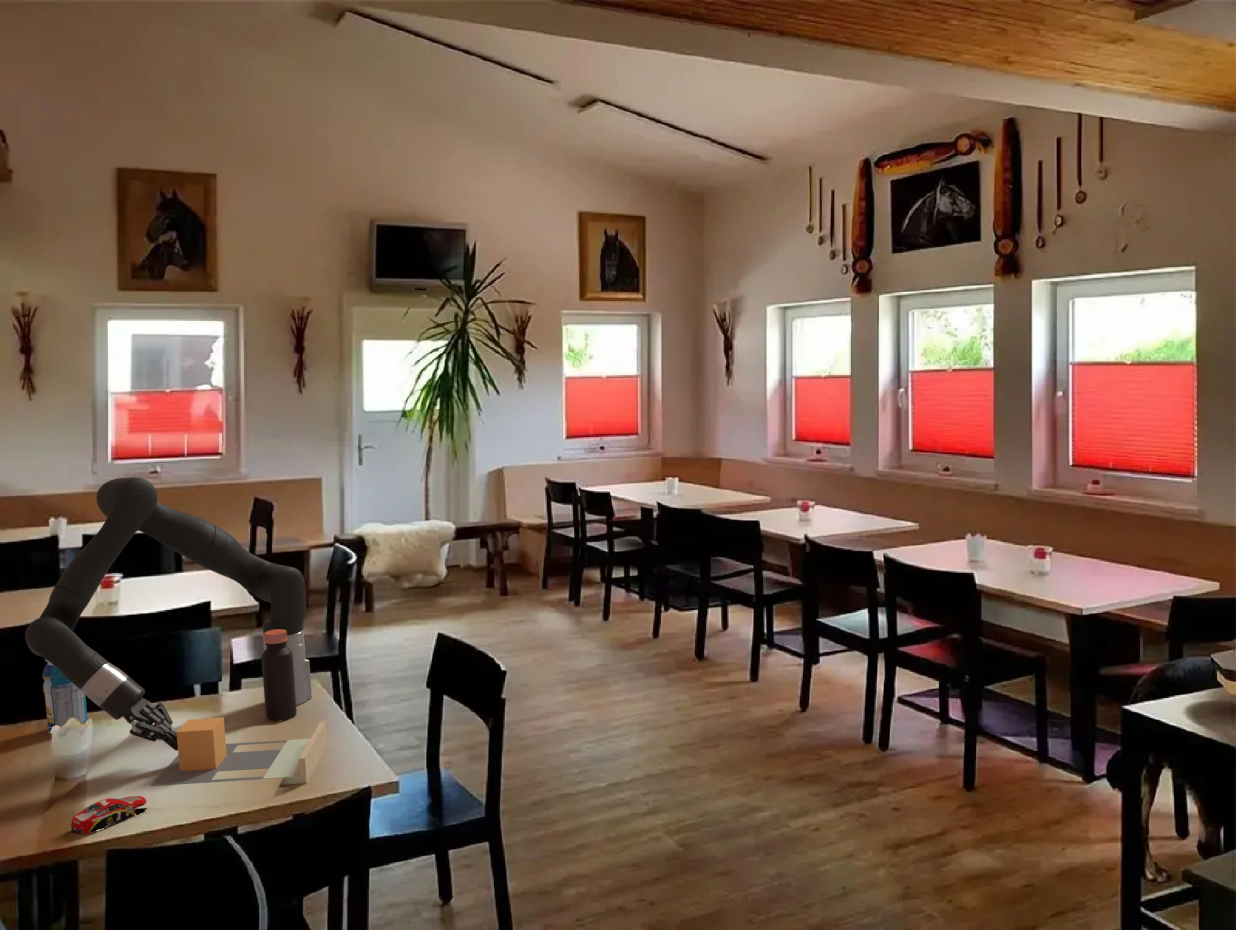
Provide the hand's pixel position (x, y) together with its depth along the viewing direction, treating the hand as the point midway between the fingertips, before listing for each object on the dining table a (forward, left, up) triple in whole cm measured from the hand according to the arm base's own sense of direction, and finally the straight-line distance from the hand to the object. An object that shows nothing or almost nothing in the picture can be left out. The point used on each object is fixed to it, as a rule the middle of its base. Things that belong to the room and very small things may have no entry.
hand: (181, 746), depth 205 cm
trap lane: (-8, +8, -5) cm, 12 cm away
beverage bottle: (+3, -46, -5) cm, 46 cm away
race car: (+19, +10, -6) cm, 22 cm away
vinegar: (-30, -12, -5) cm, 33 cm away
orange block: (-3, +3, -4) cm, 6 cm away
